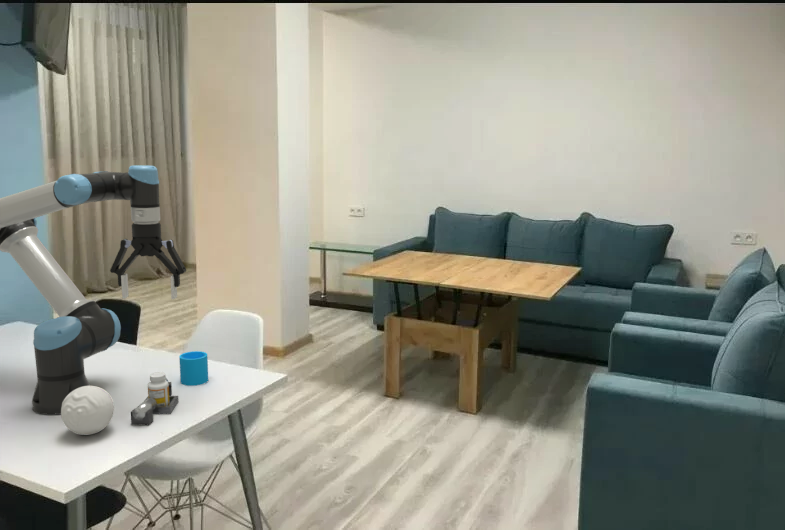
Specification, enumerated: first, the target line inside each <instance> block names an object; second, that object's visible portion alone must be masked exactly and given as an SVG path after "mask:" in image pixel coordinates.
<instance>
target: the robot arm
mask: <svg viewBox="0 0 785 530" xmlns="http://www.w3.org/2000/svg"><path fill="white" fill-rule="evenodd" d="M112 200H113V201H115V200H119V201H122V200H123V201H124V200H125V201H129V203H130V217H131V218H130V219H131V222H133V223H132V224H131V235H132V236H131V237H132V239H131V240H130V239H127V238H125V239H121V240H120V244H119V245H120V248H119V249H118V252H117V255H116V257H115V259H114V261H113V263H112V265H111V267H110V270H109V271H110V273H111V274H116V275H117V285H118V287H121V296H122V297H121V298H122V299H127V298H128V297H129V296H130V295H129V293H130V292H129V279H128V277H129V276H128V273H126V271H127V270H128V269H129V267H130V266H131V265H132V264H134V262H135V260H136V259H137V258H138V257H139V256H140V257H154V256H155V258H157V259H158V260H159V261H160V262H161V263H162V264H163V266H165V267H166V269H168V271H169V272H170V273H171V274H172V275H171V276H170V293H171V295H170V296H171V300H176V299H177V298H178V287H180V286H181V275H182V274H184V273H186V272H187V268H186V266H185V264H184V263H183V260H182V259H181V258H180V256H179V253H178V252H177V249H176V248H175V244H174V240H173V239H169V240H163V239H162V225H161V223H160V221H161V205H160V180H159V172H158V168H157V167H156V166H154V165H147V164H146V165H140V164H139V165H138V164H137V165H136V164H135V165H130V166H129V167H128V172H117V171H116V172H115V171H107V170H106V171H104V170H103V171H94V172H91V173H70V174H66V175H62V176H60V177H58V179H57V180H54V181H51V182H48V183H44V184H40V185H38V186H35V187H31V188H29V189H26V190H23V191H20V192H19V191H18V192H16V193H12V194H8V195H7V196H3V197H0V252H1V253H7V254H8V253H9V254H10V256H11V257H12V258H13V260H15V263H17V264H18V266H19V267H20V268H21V270H22V271H23V273H24V274H25V275H26V276H27V277H28V279H30V281H31V282H32V284H33V285H34V286H35V288H37V290H38V292H39V293H40V294H41V295H42V297H43V298H44V299H45V300H46V301H47V303H48V304H49V305H50V306H51V308H52V309H53V310H54V311H55V313H56V314H57V316H58V317H56V318H50V319H47V320H44V321H42V322H40V323H39V324H38V325H36V327H34V330H33V341H32V343H33V348H34V358H35V368H36V369H35V370H36V377H37V378H36V379H37V382H36V386H35V388H34V393H33V396H32V401H31V406H32V410H33V411H34V412H35V413H38V414H39V415H61V407H62V402H63V401H64V399H65V398H66V396H67V395H68V394H69V393H71V392H72V391H74V390H75V389H77V388H80V387H83V386H91V385H90V383H89V381H88V379H87V376H86V374H85V363H84V360H85V359H88V358H90V357H92V356H94V355H96V354H99V353H102V352H105V351H107V350H108V349H109V348H111V347H113V346H114V345H115V344H116V343H117V342H118V341H119V340H120V336H121V329H122V326H121V322H120V320H119V317H118V315H117V314H116V313H115V312H114V311H112V310H111V309H107V308H101V307H100V306H99V304H98V303H97V302H96V301H95V300H94V299H87V298H86V297H85V296H84V294H83V293H82V291H80V290H79V288H78V287H77V286H76V284H75V283H74V281H72V279H71V278H70V276H69V275H68V274H67V273H66V272H65V270H64V269H63V268H62V267H61V265H60V264H59V263H58V262H57V260H56V259H55V258H54V256H53V255H52V254H51V252H49V250H48V249H47V248H46V246H45V245H44V244H43V243H42V241H41V240H40V239H39V237H38V233H39V229H38V227H37V224H38V221H37V219H36V218H39V217H43V216H45V215H49V214H52V213H56V212H59V211H62V210H66V209H68V208H73V207H77V206H80V205H83V204H88V203H97V202H103V201H112ZM129 247H132V248H133V249H134V250H133V251H132V253H131V254H130V256H129V257H128V258H127V259H126V261H124V263H123V262H122V261H123V260H124V257H125V255H126V253H127V250H128V248H129ZM162 247H164V248H165V249H167V252H168V253H169V256H170V258H171V259H172V261H173V262H172V261H171V260H170V259H169V257H168V256H167V255H166V254H165V252H164V251H163V250H162ZM121 263H123V264H121ZM120 266H121V267H120Z"/></svg>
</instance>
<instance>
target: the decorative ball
mask: <svg viewBox="0 0 785 530" xmlns="http://www.w3.org/2000/svg"><path fill="white" fill-rule="evenodd" d="M114 412H115V405H114V400H113V398H112V396H111V394H110V393H109V392H108V391H106V390H105V389H104V388H102V387H99V386H96V385H90V386H83V387H80V388H77V389H75V390H74V391H72V392H71V393H69V394H68V395H67V396H66V398H65V399H64V401H63V402H62V407H61V414H60V416H61V419H62V422H63V425H64V426H65V427H66V428H67V429H68V430H69V431H71V432H72V433H74V434H76V435H81V436H87V435H88V436H90V435H94V434H97V433H99V432H100V431H103V430H104V429H105V428H106V427H107V426H108V425H109V424H110V422H111V421H112V419H113V417H114Z"/></svg>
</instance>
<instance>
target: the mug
mask: <svg viewBox="0 0 785 530" xmlns="http://www.w3.org/2000/svg"><path fill="white" fill-rule="evenodd" d="M178 361H179V374H180V375H179V378H180V384H181V385H182V386H183V385H184V386H187V387H189V386H190V387H195V386H201V385H204V383H205V384H206V383H208V382H209V364H208V362H209V361H208V353H207V352H206V351H200V350H197V351H196V350H194V351H186V352H183V353H181V354H180V355H179V360H178ZM207 381H208V382H207Z"/></svg>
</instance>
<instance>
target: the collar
mask: <svg viewBox="0 0 785 530" xmlns="http://www.w3.org/2000/svg"><path fill="white" fill-rule="evenodd" d="M147 399H148V396H147V397H146V398H145V399H144V401H145V400H147ZM169 401H170V404H169V406H156V408H155V409H154V410H153V415H172V413H173V412H174V410H175V409H176V407H177V406H178V405H179V395H171V396H169Z"/></svg>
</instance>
